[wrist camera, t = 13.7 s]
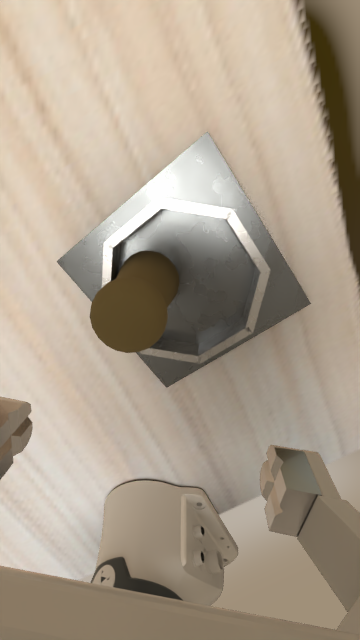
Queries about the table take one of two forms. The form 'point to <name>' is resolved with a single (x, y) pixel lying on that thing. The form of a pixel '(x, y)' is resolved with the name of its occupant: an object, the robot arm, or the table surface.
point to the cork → (135, 303)
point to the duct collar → (195, 261)
